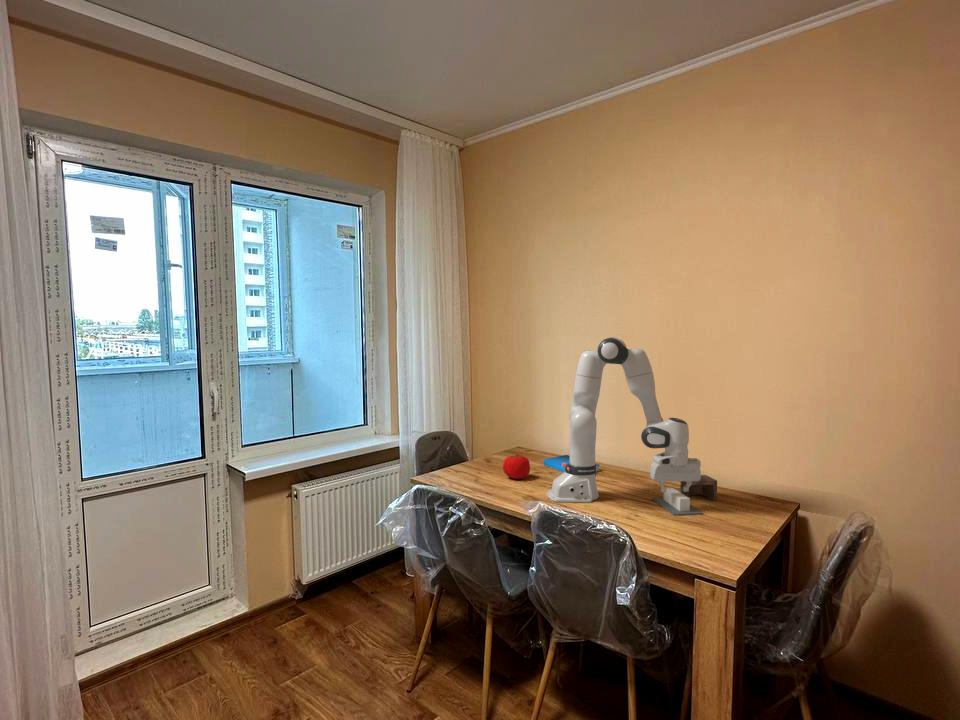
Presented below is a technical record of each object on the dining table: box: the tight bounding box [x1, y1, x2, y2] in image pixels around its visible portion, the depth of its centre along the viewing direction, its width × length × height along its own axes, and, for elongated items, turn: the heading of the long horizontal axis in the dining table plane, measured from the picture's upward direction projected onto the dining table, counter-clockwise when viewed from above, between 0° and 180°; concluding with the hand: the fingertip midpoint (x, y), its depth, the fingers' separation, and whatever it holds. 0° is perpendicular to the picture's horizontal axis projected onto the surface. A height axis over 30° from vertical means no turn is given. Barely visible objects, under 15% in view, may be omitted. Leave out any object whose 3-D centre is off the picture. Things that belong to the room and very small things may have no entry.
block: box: [663, 487, 691, 511], centre depth 203 cm, size 4×14×5 cm, turn 6°
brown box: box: [679, 474, 718, 501], centre depth 214 cm, size 12×9×8 cm
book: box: [543, 454, 600, 473], centre depth 262 cm, size 17×4×25 cm
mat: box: [651, 497, 704, 516], centre depth 203 cm, size 12×19×1 cm, turn 6°
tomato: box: [502, 454, 531, 480], centre depth 245 cm, size 12×13×12 cm
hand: (674, 491), depth 203 cm, fingers open, 8 cm apart
